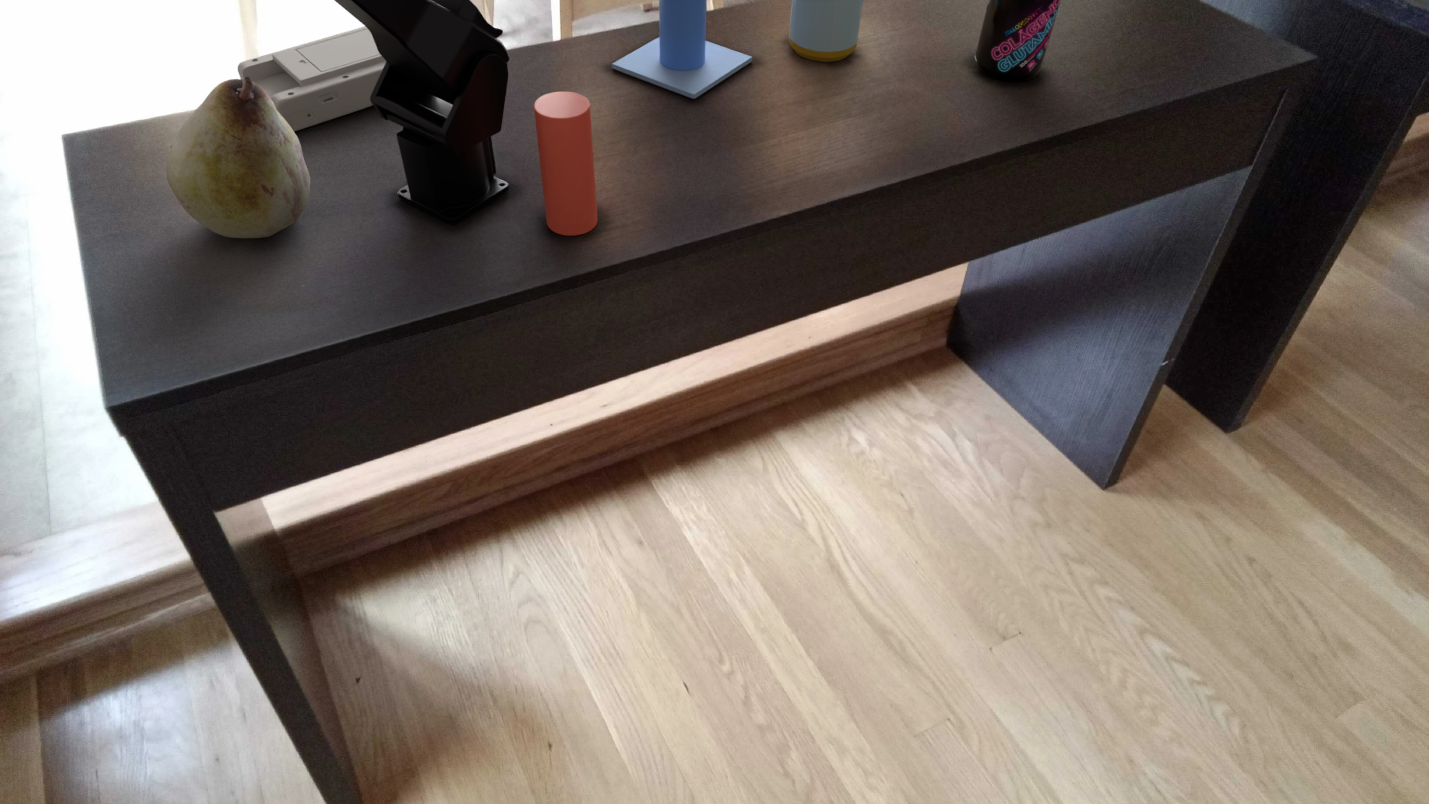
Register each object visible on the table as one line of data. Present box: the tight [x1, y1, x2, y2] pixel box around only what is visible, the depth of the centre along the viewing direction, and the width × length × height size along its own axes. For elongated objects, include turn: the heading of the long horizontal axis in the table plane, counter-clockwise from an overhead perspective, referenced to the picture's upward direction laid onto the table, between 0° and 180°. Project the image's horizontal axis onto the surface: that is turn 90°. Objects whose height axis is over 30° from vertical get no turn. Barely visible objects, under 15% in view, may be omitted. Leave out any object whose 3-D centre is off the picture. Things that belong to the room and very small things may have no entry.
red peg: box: [533, 91, 598, 237], centre depth 72 cm, size 4×4×10 cm
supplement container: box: [974, 0, 1062, 83], centre depth 93 cm, size 7×7×10 cm
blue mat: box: [611, 36, 753, 100], centre depth 94 cm, size 10×10×1 cm
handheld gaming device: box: [237, 25, 386, 132], centre depth 87 cm, size 9×15×4 cm, turn 131°
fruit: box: [165, 76, 311, 239], centre depth 69 cm, size 10×9×12 cm
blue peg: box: [658, 0, 708, 71], centre depth 91 cm, size 4×4×10 cm
